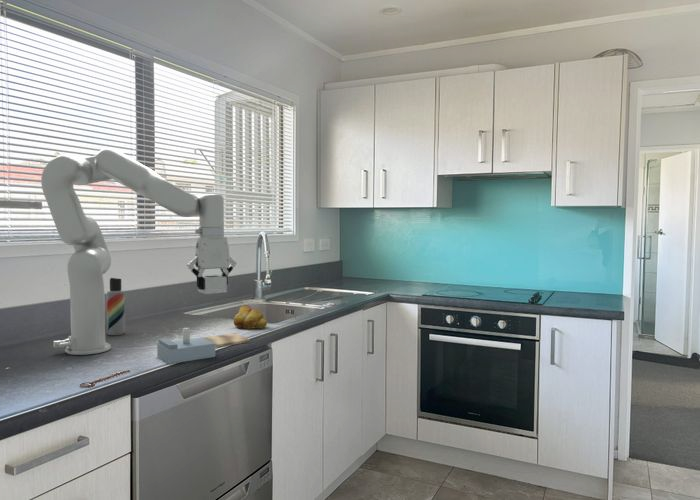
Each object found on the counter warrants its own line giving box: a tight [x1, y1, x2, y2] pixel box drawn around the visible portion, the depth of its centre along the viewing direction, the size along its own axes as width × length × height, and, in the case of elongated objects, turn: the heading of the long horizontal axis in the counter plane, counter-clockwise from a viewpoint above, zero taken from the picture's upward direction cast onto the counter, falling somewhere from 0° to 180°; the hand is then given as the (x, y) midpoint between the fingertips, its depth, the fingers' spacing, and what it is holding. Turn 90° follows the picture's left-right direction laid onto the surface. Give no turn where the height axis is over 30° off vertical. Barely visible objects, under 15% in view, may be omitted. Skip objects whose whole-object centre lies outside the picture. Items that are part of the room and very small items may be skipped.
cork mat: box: [203, 333, 251, 348], centre depth 179 cm, size 12×12×1 cm
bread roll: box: [233, 304, 268, 330], centre depth 201 cm, size 13×10×8 cm
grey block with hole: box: [197, 274, 228, 295], centre depth 170 cm, size 7×7×5 cm
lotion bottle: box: [106, 277, 126, 336], centre depth 187 cm, size 6×6×20 cm
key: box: [79, 369, 131, 388], centre depth 136 cm, size 6×1×15 cm
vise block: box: [156, 327, 216, 365], centre depth 158 cm, size 14×10×8 cm
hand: (212, 287), depth 170 cm, fingers closed on grey block with hole, 7 cm apart
